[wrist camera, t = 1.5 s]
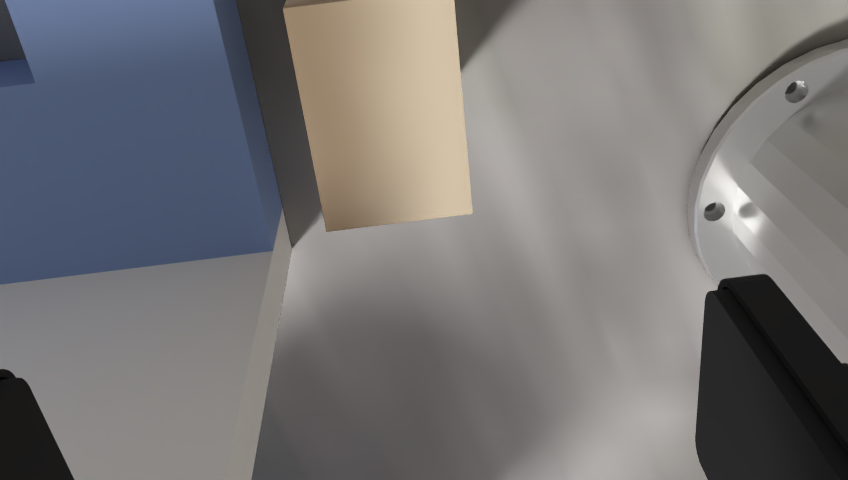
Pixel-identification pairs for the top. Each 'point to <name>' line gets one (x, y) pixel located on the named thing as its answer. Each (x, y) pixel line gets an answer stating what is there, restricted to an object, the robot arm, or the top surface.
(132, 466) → the blue base grey panel
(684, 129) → the top surface
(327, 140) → the tan wooden pillar
